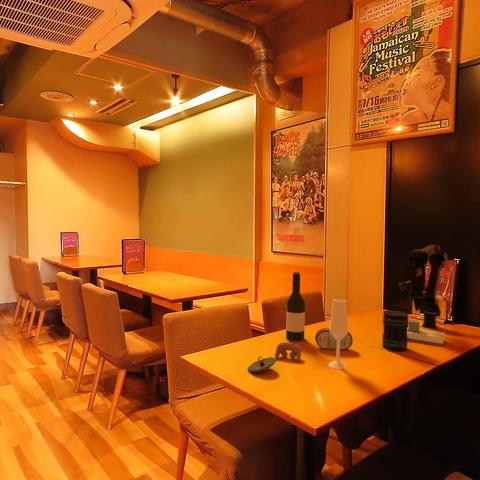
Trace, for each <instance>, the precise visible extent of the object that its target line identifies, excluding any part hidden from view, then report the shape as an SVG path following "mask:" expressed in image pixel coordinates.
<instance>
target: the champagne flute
mask: <svg viewBox="0 0 480 480" xmlns="http://www.w3.org/2000/svg"><path fill="white" fill-rule="evenodd" d="M347 310H348V308H347V300H345V299H341V298H340V299H332V304H331V313H330V321H329V322H330V323H329V331H330V333H331V335H332V336H333V337H334V338H335V339H337V350H335V351H336V353H335V354H336V355H335V356H336V358H335V360H334V361H331V362H329V363H328V366H329V368H332V369H335V370H336V369H337V370H344V369H347V368H348V365H347V364H345V363H344V362H343V361H341V360H340V359H341V358H340V357H341V356H340V355H341V350H340V340H341V339H342V338H344V337H345V336H346V335H347V333H348V332H349V326H348V325H349V324H348V323H349V322H348V311H347Z"/></svg>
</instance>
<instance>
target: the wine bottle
mask: <svg viewBox="0 0 480 480" xmlns="http://www.w3.org/2000/svg"><path fill="white" fill-rule="evenodd" d="M291 287H292V290H291V291H292V292H291V293H290V296H289V297H288V299H287V300H286V317H285V318H286V320H285V321H286V323H285V324H286V326H285V339H286V340H287V341H290V342H302V341H303V342H304V341H305V325H306V323H305V322H306V321H305V319H306V302H305V300H304V298H303V296H302V294H301V274H300V272H298V271H294V272H293V273H292V286H291Z"/></svg>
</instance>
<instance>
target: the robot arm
mask: <svg viewBox="0 0 480 480" xmlns="http://www.w3.org/2000/svg"><path fill="white" fill-rule="evenodd" d="M448 257H449V256H448V254H447V252H446V250H444V249H443V248H442V247H440V245H438V244H428V245H426V247H423V248H422V249H413V250H412V251H411V252H410V255H409V257H408V261H407V263H406V264H407V265H408V266H407V267H405V268H404V271H403V272H404V275H405V277H406V278H407V279H410V280H408V281H401V282H400V283H399V284H398V286H399V289H400V290H401V292H402V291H405V290H408V289H410V290H409V291H408V297H409V298H410V299H411V300H412V301H413V305H414V310H415V311H417V312H418V311H419V314H422V315H423V323H422V325H421V327H423V328H429V329H437V327H438V324H437V318H438V317H441V312H442V310H441V308H440V305H439V301H438V298H437V293H438V286H439V283H440V282H439V281H440V276H441V270H442V269H443V268H444V267H445V266H446V263H447V261H448ZM428 264H429V266H430V270H429V275H428V276H429V277H428V281H427V278H426V275H427V274H426V273H427V265H428ZM426 282H427V285H426Z"/></svg>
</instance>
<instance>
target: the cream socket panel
mask: <svg viewBox="0 0 480 480" xmlns="http://www.w3.org/2000/svg"><path fill="white" fill-rule="evenodd" d="M407 337H408V340H407V341H409V342H414V343H422V344H429V345H435V346H441V347H444V343H445V332H441V331H433V330H426V329H421V328H419V333H413V332H409V327H408V328H407Z"/></svg>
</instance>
